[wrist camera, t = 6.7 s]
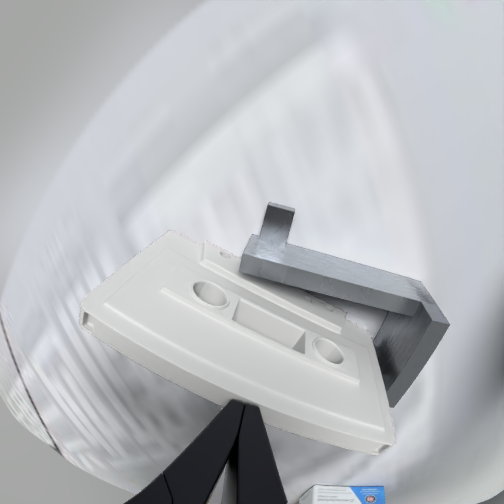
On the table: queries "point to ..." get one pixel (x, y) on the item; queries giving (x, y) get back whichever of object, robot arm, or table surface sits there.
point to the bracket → (354, 297)
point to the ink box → (343, 495)
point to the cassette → (244, 342)
